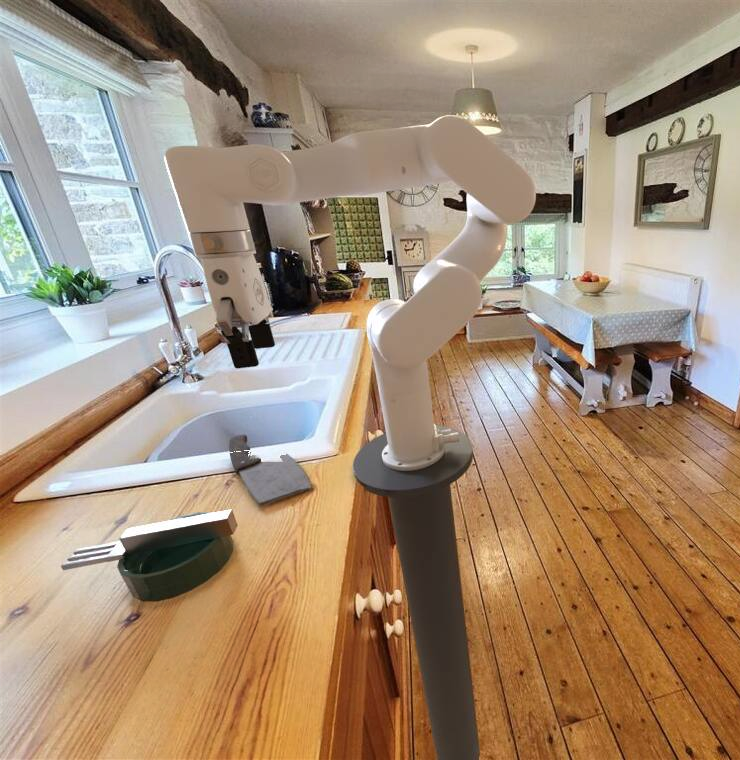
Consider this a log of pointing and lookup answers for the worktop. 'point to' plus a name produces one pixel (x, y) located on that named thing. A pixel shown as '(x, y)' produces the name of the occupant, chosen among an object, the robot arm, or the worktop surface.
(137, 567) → the bowl
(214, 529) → the fork
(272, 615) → the worktop surface
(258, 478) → the cleaver
